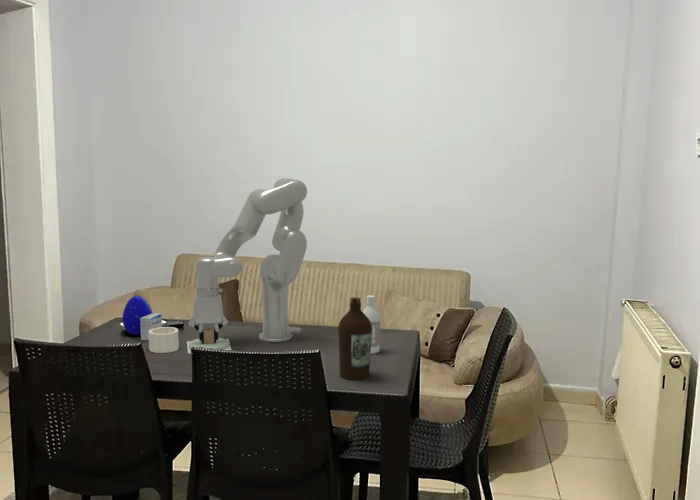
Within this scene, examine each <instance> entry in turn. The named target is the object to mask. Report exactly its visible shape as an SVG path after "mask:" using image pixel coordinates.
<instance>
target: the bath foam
mask: <svg viewBox="0 0 700 500" xmlns="http://www.w3.org/2000/svg"><path fill="white" fill-rule="evenodd" d="M375 305H376V296H375V295H371V294H369V295H366V306H365V307H364V309H363V310H362V312H363V313H364V314H365V315H366V316H367V317H368V319H369V320H370V322H371V325H372V337H371V352H370V355H372V354H373V355H374V354H377V353H379V352H380V350H381V349H380V347H381V346H380V345H381V315H380V312H379V311H378V309H377V307H376V306H375Z"/></svg>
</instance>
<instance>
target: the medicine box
mask: <svg viewBox="0 0 700 500" xmlns="http://www.w3.org/2000/svg"><path fill="white" fill-rule="evenodd" d="M162 321H163V319H162V314H161V313H156V312H154V313H153V312H152V313H151V314H149V315H147V316H144V317H142V318H140V325H141V335H140V340H141V341H146V340H147V341H149V330H151V329H154V328H159V327H163V323H162Z"/></svg>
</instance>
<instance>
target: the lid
mask: <svg viewBox="0 0 700 500" xmlns="http://www.w3.org/2000/svg"><path fill="white" fill-rule="evenodd" d="M214 329H215V328H214V327H203V328H202V330H203V333H204V343H203V344H202V343H201V341H199V338H195V339H193V340H190V341H191V342H189V348H190V349H191V348H192V347H203V348H213V349H225V348H227V347H228V346H229V343H230V340H229V339H228V340H229V341H228V340H226V339H227V338H222V337H218V340H216V343H214Z"/></svg>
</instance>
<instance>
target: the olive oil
mask: <svg viewBox="0 0 700 500" xmlns="http://www.w3.org/2000/svg"><path fill="white" fill-rule="evenodd" d="M361 307H362V302H361V297H357V296H353V297H350V302H349V310H348V311H347V312H346V313H345V315H344V316H342V318H340V321H339V322H338V326H337V327H338V328H337V332H338V358H339V376H340V377H341V378H343V379H346V380H353V381H354V380H355V381H357V380H364V379H367V378H368V377H369V376H370V368H371V354H370V352H371V337H372V325H371V322H370V320H369V319H368V317H367V316H366V315H365V314H364V313H363V310H362V309H361Z"/></svg>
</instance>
